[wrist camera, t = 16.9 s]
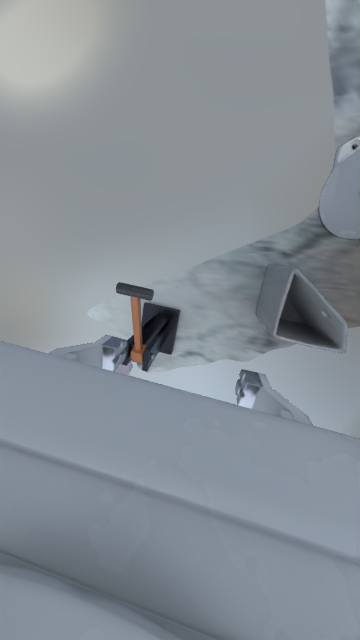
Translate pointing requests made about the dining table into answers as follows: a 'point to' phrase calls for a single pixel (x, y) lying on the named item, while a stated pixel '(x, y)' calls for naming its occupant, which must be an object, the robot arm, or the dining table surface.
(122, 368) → the smoothie
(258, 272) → the dining table surface
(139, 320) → the lever
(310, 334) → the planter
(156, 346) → the bracket
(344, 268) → the dining table surface
